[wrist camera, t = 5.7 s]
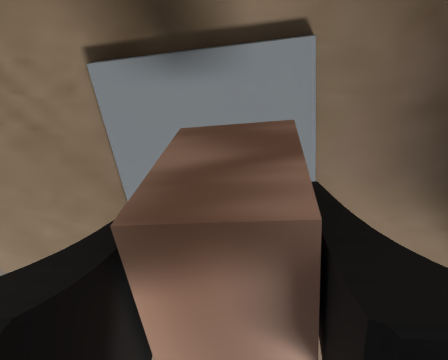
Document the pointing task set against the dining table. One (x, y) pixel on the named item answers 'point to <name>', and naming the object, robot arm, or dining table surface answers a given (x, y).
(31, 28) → the dining table surface
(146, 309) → the block
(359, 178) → the dining table surface
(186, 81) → the mat
